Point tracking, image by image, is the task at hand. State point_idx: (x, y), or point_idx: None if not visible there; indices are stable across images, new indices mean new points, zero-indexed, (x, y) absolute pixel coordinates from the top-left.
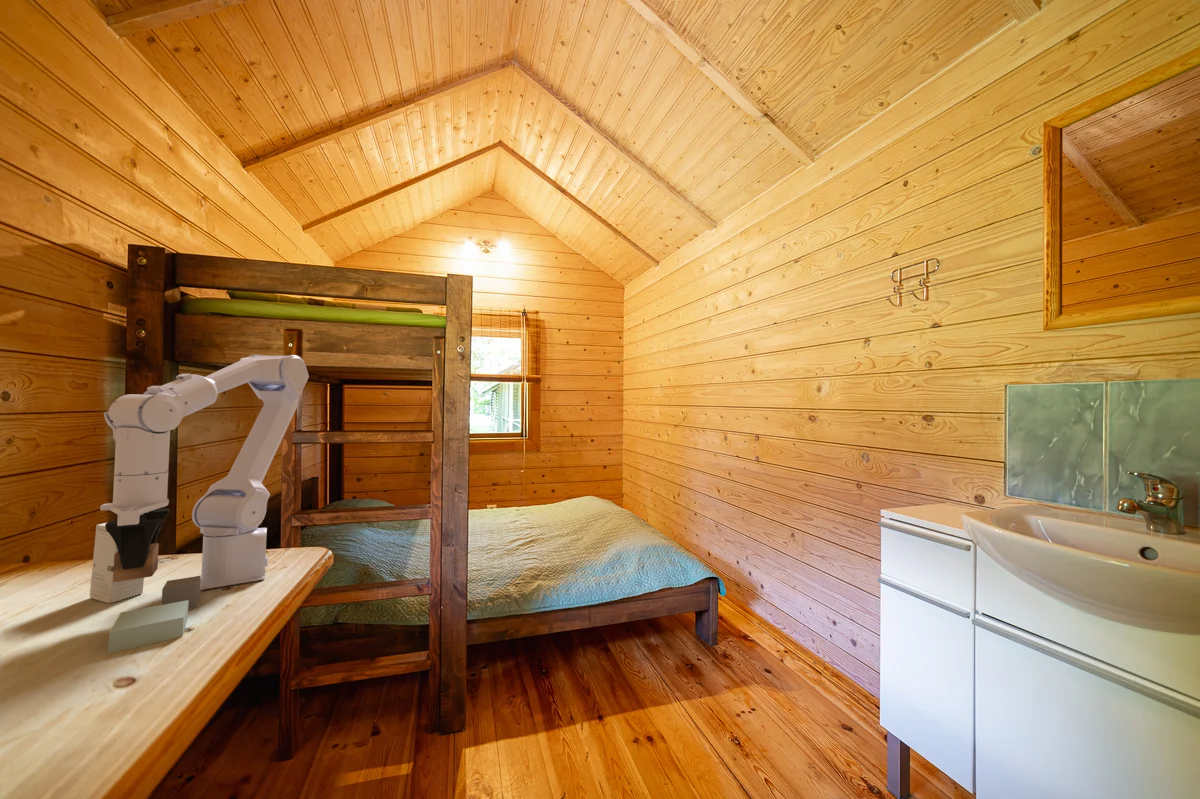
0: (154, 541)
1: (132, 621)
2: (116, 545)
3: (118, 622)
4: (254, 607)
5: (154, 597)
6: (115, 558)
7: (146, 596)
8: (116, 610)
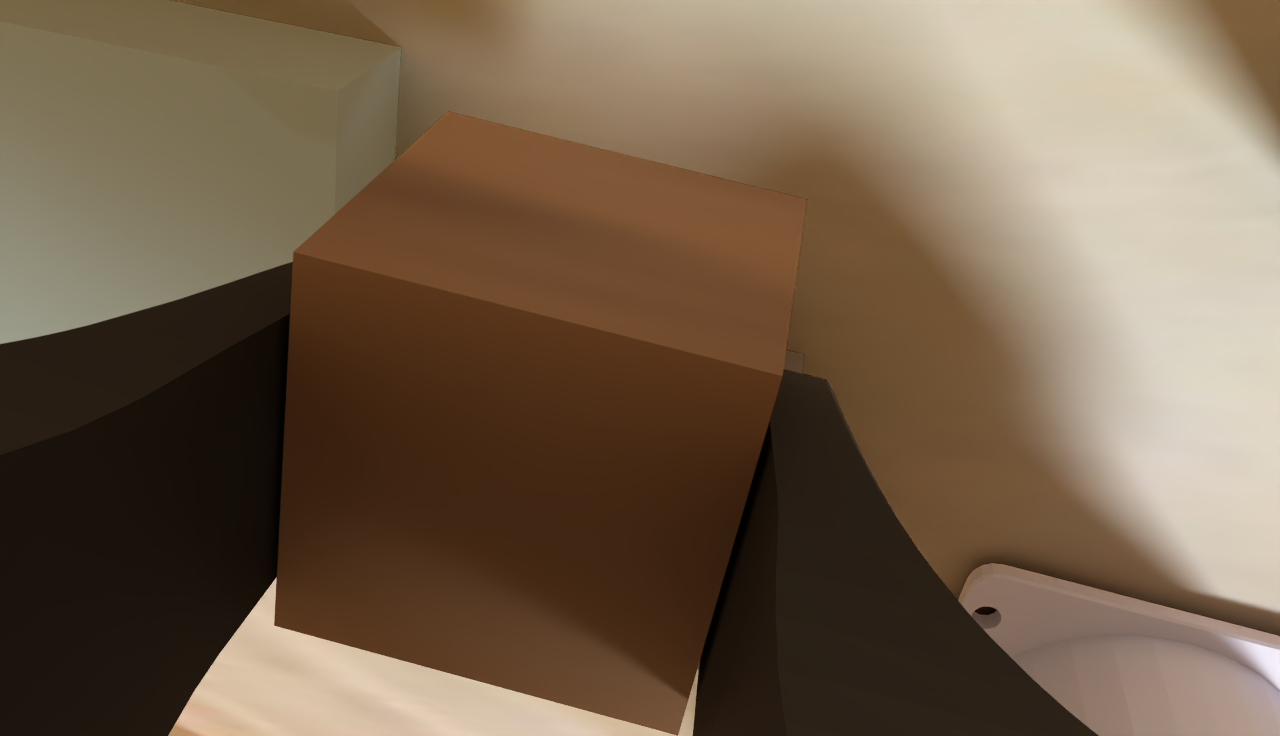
0: (697, 722)
1: (42, 142)
2: (12, 343)
3: (82, 61)
4: (301, 692)
5: (1140, 321)
6: (329, 238)
7: (1248, 277)
8: (1020, 51)
